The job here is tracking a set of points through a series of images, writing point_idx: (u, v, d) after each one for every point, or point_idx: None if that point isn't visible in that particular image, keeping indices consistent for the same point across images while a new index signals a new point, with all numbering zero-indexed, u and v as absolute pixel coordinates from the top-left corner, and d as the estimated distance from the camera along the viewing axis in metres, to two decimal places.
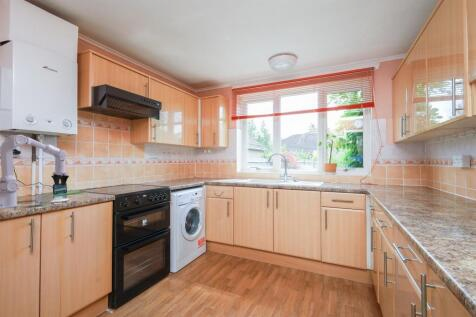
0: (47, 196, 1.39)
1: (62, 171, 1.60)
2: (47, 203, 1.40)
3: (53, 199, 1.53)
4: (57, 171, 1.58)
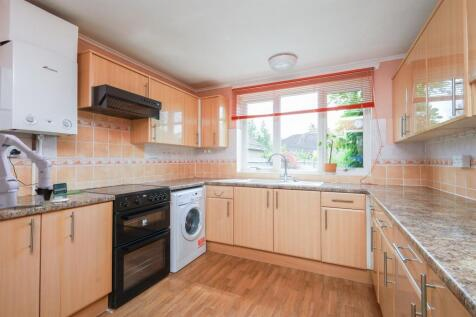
0: None
1: (47, 184, 1.38)
2: (47, 203, 1.40)
3: (53, 199, 1.53)
4: (40, 184, 1.37)
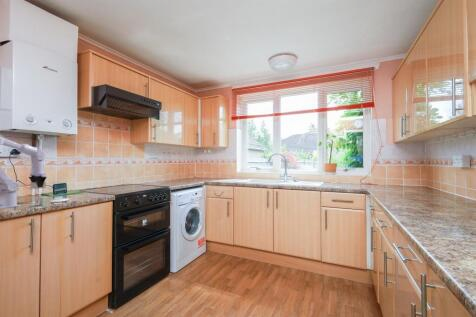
0: None
1: (40, 172, 1.48)
2: (47, 203, 1.40)
3: (53, 199, 1.53)
4: (34, 172, 1.47)
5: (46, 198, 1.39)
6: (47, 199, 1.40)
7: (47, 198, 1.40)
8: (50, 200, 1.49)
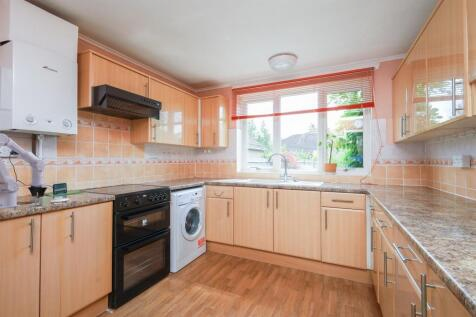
0: None
1: (40, 183, 1.48)
2: (47, 203, 1.40)
3: (53, 199, 1.53)
4: (34, 183, 1.47)
5: (46, 198, 1.39)
6: (47, 199, 1.40)
7: (47, 198, 1.40)
8: (50, 200, 1.49)
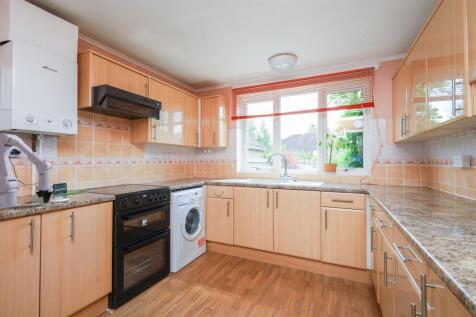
0: None
1: (47, 187, 1.38)
2: (47, 203, 1.40)
3: (53, 199, 1.53)
4: (40, 187, 1.37)
5: None
6: None
7: None
8: (50, 200, 1.49)
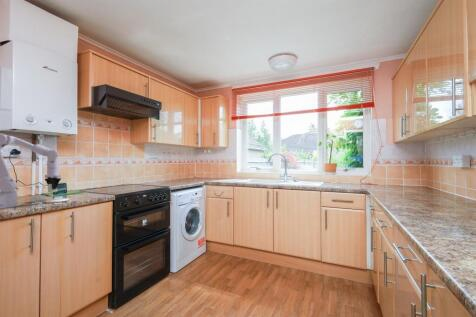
0: (40, 197, 1.49)
1: (55, 174, 1.46)
2: (55, 190, 1.47)
3: (53, 199, 1.53)
4: (49, 174, 1.44)
5: None
6: None
7: None
8: (50, 200, 1.49)
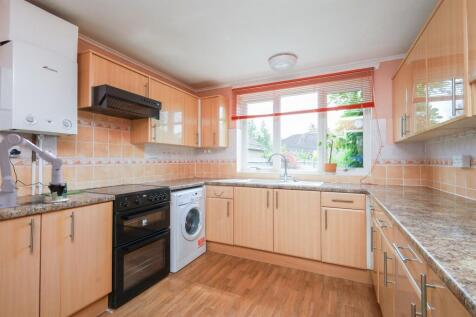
0: (40, 197, 1.49)
1: (59, 181, 1.50)
2: (59, 198, 1.51)
3: None
4: (53, 181, 1.48)
5: None
6: None
7: None
8: (50, 200, 1.49)
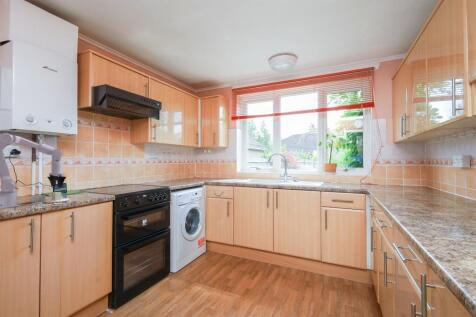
0: (40, 197, 1.49)
1: (59, 172, 1.50)
2: (59, 198, 1.51)
3: None
4: (53, 172, 1.48)
5: (58, 193, 1.50)
6: (59, 194, 1.51)
7: (59, 193, 1.51)
8: (50, 200, 1.49)
